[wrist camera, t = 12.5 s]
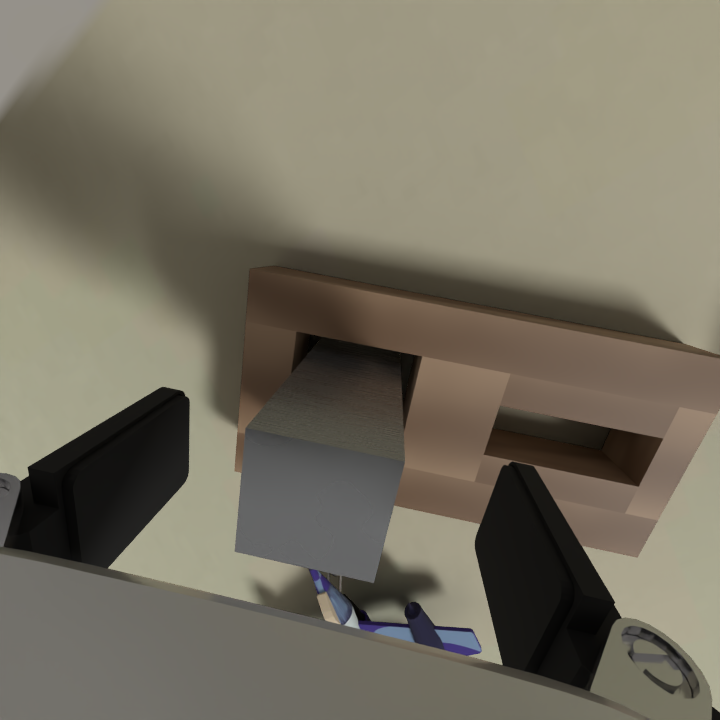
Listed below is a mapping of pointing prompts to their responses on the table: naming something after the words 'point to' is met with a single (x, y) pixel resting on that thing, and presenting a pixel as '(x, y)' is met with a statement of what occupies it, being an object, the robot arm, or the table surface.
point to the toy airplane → (417, 629)
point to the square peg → (325, 462)
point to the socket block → (500, 397)
